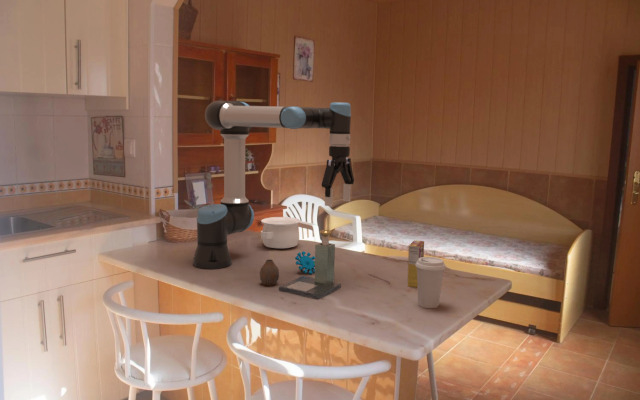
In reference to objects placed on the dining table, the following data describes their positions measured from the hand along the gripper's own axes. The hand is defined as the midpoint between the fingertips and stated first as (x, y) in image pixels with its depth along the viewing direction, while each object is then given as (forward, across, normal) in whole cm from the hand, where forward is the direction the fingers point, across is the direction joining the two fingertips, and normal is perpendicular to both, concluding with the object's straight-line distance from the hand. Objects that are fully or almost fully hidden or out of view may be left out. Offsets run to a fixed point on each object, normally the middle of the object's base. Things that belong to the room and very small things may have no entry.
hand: (337, 203), depth 202 cm
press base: (+28, -18, 0) cm, 33 cm away
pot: (+28, +27, +44) cm, 59 cm away
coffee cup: (+28, -9, -40) cm, 50 cm away
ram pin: (+18, -13, -3) cm, 23 cm away
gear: (+28, 0, +12) cm, 31 cm away
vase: (+28, -21, +15) cm, 38 cm away
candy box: (+28, +10, -28) cm, 41 cm away
